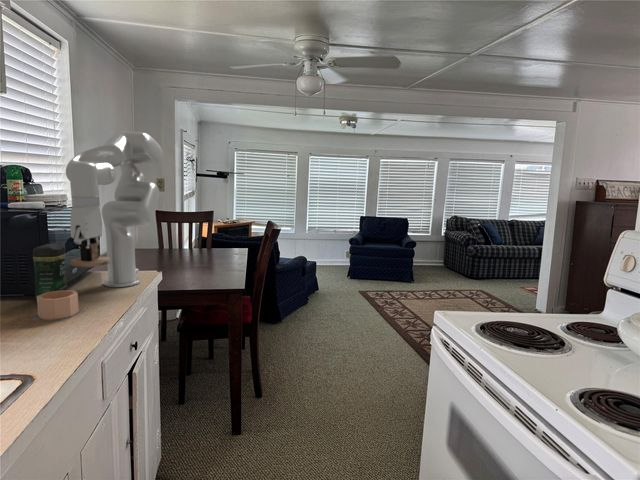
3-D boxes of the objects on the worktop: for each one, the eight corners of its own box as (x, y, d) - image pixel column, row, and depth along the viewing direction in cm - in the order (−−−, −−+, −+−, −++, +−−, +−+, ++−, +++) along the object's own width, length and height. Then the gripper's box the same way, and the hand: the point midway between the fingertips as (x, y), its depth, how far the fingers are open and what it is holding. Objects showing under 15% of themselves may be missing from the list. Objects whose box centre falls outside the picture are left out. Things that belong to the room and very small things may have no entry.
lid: (84, 258, 134) (82, 240, 133) (116, 259, 134) (114, 241, 133) (63, 266, 123) (61, 247, 122) (98, 267, 123) (96, 248, 122)
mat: (53, 309, 122) (53, 308, 122) (86, 310, 122) (86, 309, 122) (29, 321, 112) (29, 319, 112) (64, 322, 112) (64, 321, 112)
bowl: (53, 308, 122) (52, 289, 121) (84, 309, 121) (83, 290, 121) (31, 319, 112) (29, 299, 111) (64, 320, 112) (63, 300, 111)
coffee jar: (59, 303, 128) (55, 246, 125) (32, 304, 126) (27, 246, 124) (72, 294, 137) (68, 241, 135) (46, 295, 136) (42, 241, 133)
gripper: (89, 199, 133) (93, 253, 136) (56, 204, 117) (62, 265, 120) (111, 200, 133) (115, 254, 136) (82, 205, 117) (86, 266, 120)
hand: (90, 258), depth 128 cm, fingers closed on lid, 3 cm apart
